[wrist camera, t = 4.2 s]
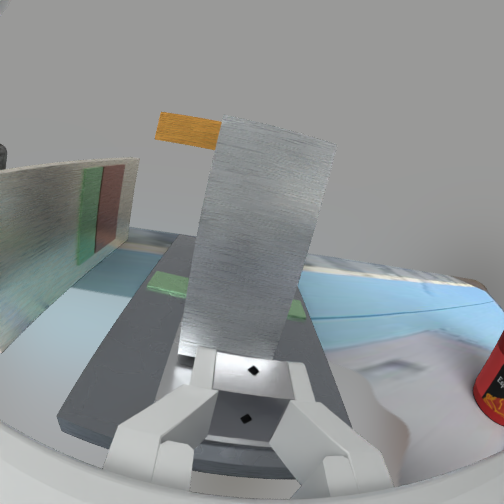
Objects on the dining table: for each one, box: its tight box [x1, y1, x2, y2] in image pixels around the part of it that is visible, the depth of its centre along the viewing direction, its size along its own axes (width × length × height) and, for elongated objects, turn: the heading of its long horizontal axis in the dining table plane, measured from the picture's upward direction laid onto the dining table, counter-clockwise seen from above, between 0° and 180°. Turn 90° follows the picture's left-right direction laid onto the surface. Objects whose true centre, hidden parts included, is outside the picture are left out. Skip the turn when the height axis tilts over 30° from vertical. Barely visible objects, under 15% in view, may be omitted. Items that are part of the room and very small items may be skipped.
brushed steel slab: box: [155, 112, 337, 360], centre depth 16 cm, size 6×8×12 cm
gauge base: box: [0, 157, 352, 479], centre depth 22 cm, size 30×21×10 cm
